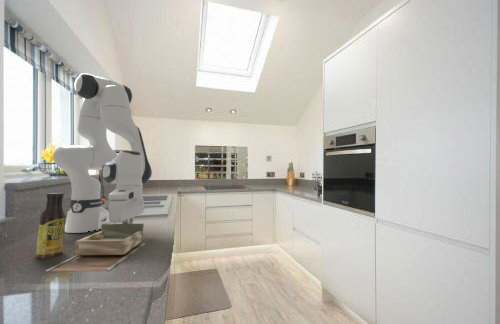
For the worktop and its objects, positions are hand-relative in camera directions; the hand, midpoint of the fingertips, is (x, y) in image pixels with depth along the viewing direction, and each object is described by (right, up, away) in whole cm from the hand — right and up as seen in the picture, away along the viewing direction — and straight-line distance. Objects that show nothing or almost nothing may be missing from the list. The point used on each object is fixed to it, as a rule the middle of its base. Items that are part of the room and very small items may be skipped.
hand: (127, 230), depth 84 cm
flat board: (+1, -4, -15) cm, 15 cm away
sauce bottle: (-16, -4, -14) cm, 22 cm away
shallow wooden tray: (0, -4, -10) cm, 11 cm away
